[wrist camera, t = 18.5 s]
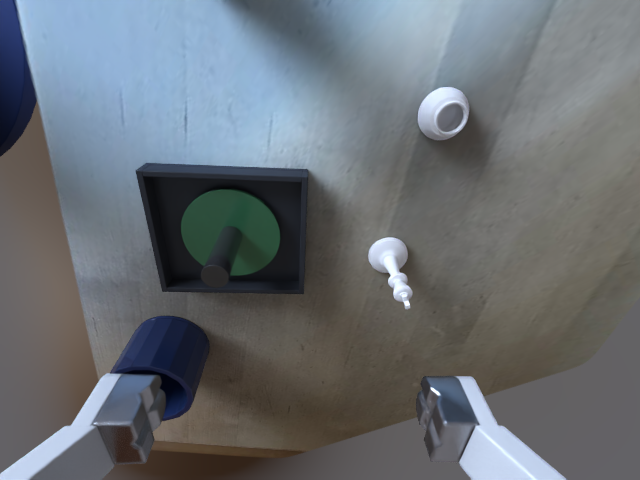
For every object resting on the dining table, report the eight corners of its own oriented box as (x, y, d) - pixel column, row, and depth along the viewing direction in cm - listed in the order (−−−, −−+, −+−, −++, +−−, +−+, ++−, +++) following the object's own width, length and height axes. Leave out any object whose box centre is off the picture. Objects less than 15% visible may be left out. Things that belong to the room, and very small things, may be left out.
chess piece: (403, 232, 42) (428, 281, 33) (410, 264, 44) (435, 318, 35) (364, 243, 42) (378, 294, 33) (372, 274, 44) (388, 330, 36)
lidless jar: (449, 144, 36) (475, 97, 34) (460, 152, 34) (489, 101, 32) (408, 129, 35) (431, 79, 33) (416, 135, 33) (442, 81, 31)
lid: (190, 269, 42) (164, 320, 35) (176, 184, 37) (141, 221, 29) (281, 271, 43) (275, 322, 35) (280, 187, 38) (273, 225, 30)
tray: (169, 279, 44) (162, 291, 42) (146, 162, 36) (135, 170, 34) (303, 281, 45) (303, 294, 42) (307, 169, 37) (307, 177, 35)
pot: (143, 367, 52) (115, 421, 44) (127, 315, 46) (93, 365, 39) (213, 367, 52) (197, 421, 45) (205, 316, 47) (186, 366, 40)
